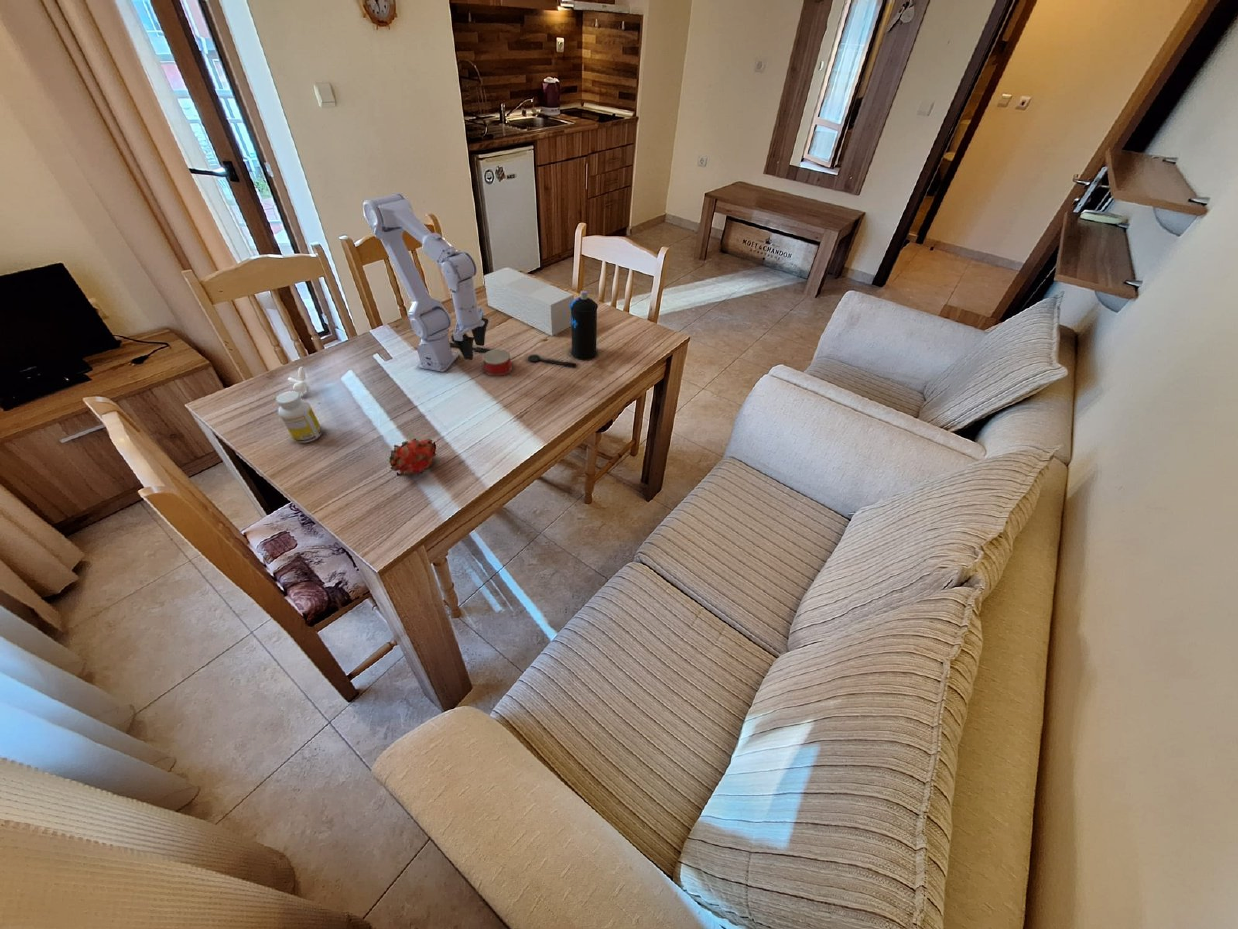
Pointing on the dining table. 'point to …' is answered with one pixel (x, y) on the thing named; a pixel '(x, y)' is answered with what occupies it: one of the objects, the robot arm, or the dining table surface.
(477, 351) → the fork
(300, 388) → the rabbit figurine
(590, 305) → the aerosol can
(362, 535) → the dining table surface
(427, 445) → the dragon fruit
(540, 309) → the long white block
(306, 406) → the pill bottle
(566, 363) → the spoon
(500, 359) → the tin can
